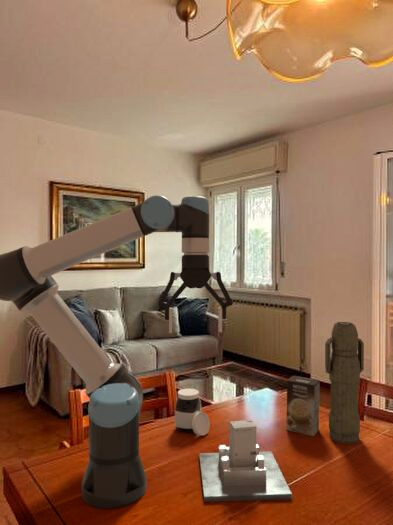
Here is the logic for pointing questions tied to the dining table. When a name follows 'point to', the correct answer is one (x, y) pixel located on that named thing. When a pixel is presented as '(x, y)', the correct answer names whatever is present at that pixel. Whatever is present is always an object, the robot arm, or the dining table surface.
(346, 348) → the thermos
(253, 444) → the skincare box
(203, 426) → the spread jar
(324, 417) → the dining table surface
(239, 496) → the box holder fixture
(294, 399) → the coffee box
